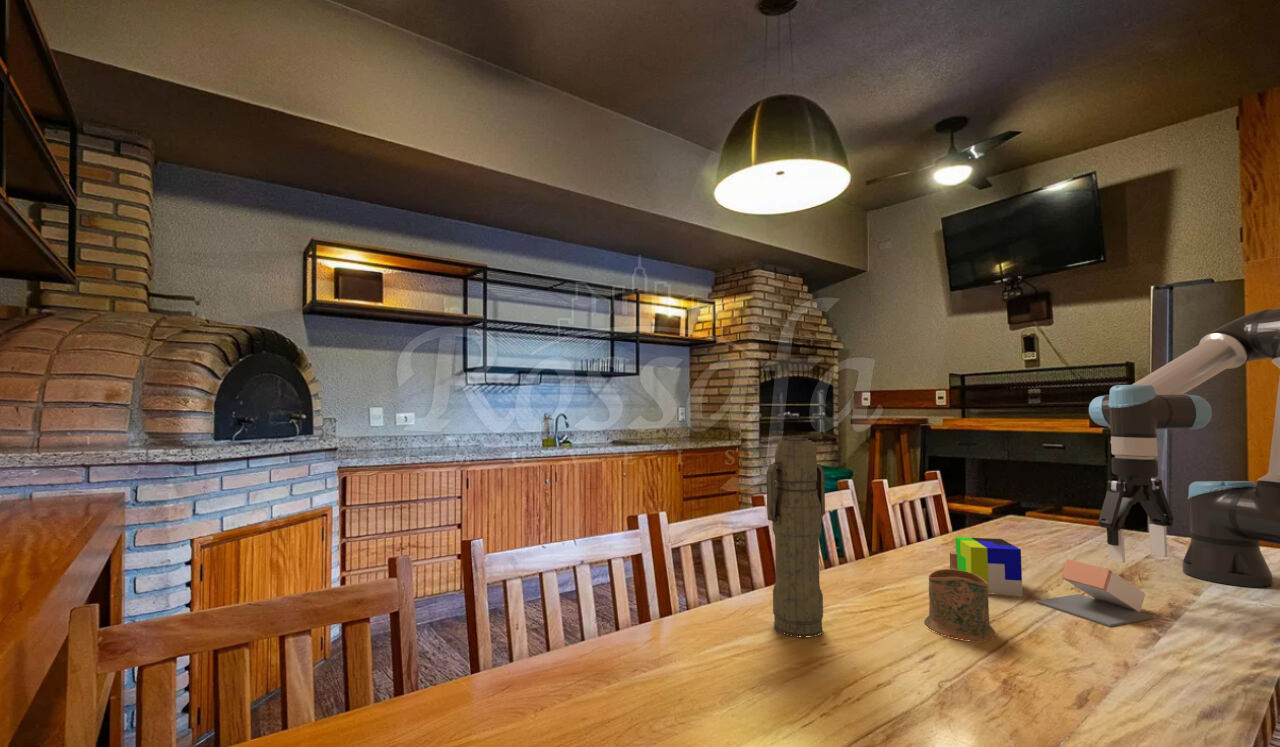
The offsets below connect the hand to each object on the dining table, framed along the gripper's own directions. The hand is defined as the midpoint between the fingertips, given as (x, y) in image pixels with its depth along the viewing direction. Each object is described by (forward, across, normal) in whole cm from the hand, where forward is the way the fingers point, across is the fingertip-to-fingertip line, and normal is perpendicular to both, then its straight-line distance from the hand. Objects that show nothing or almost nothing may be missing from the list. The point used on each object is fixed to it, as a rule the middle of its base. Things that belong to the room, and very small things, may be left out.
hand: (1138, 558), depth 122 cm
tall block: (+7, +6, 0) cm, 10 cm away
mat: (+9, +15, 0) cm, 17 cm away
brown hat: (+10, +46, -4) cm, 47 cm away
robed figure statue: (+10, +76, -12) cm, 78 cm away
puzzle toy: (+9, +21, -18) cm, 29 cm away
